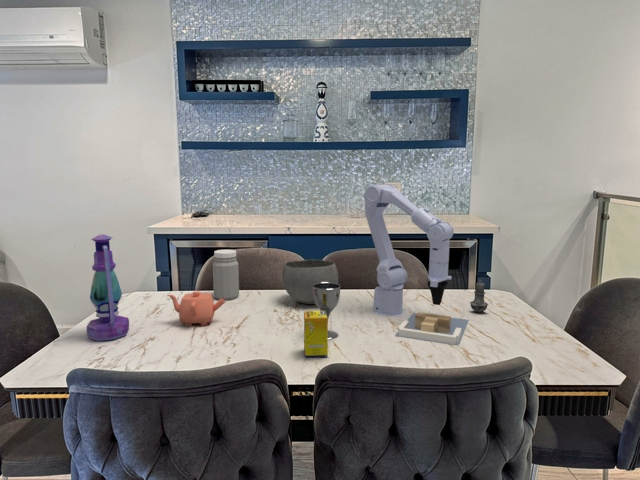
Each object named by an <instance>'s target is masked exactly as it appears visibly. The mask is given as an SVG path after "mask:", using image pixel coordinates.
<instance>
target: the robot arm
mask: <svg viewBox="0 0 640 480" xmlns="http://www.w3.org/2000/svg"><path fill="white" fill-rule="evenodd" d="M362 197H363V198H364V203H365V204H364V207H365V208H364V214H365V217H366V221H367V224H368V228H369V231H370V234H371V237H372V242H373V244H374V247H375V251H376V255H377V258H378V261H379V263H378V265H377V267H376V273H377V276H376V280H377V283H378V285H379V286H376V287H375V288H374V292H373V312H372V313H373V314H376V315H385V316H392V317H401V316H403V314H404V313H405V312H406V309H403V301H404V300H403V298H404V295H403V294H404V287H405V283H406V282H407V281H408V273H407V271H406V269H405V268H404V267H403V264H402V262H401V261H400V260H399V259H398V258H396V254H395V252H394V249H393V245H392V242H391V238H390V235H389V233H388V229H387V225H386V222H385V219H384V215H383V213H384V211H385V210H386V208H387V207H388V206H389V205H390V204H393V205H394V206H395V207H397V208H399V209H400V210H402V212H404V213H405V214H407V215H409V216H410V217H411V218H410V219H411V222H412V223H413V224H414V225H415V226H416V227H418V228H419V229H421V231H423V232H424V233H425V234H426V236H427V239H428V240H429V246H430V247H429V261H428V262H429V264H428V274H427V278H428V279H429V280H428V281H427V287H428V289H429V290H430V294H431V295H430V296H431V301H432V305H435V306H440V305H441V303H442V300H443V296H444V293H445V290H446V287H447V285H448V284H449V281H448V280H452V276H451V275H449V261H450V244H451V242H450V239H452V238H453V236H454V228H453V226H452V224H450V222H448V221H442V219H441V218H440V217H436V216H435V215H434V214H432V213H431V212H430V211H431V210H430V209H429V208H428V207H427V208H425V207H417V206H416V205H415V204H414V203H413V202H412V201H410V200H409V199H408V198H407V197H406V196H405V195H404V194H403V193H401V192H400V191H399V189H398V188H396V187H394V185H392V184H389V183H386V184H375V183H373V184H370V185H368V186H367V187H366V189H365V191H364V193H363V194H362Z"/></svg>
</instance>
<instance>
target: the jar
mask: <svg viewBox="0 0 640 480" xmlns="http://www.w3.org/2000/svg"><path fill="white" fill-rule="evenodd" d="M213 257H214V259H213V260H214V261H213V263H212V277H213V278H212V282H213V283H212V284H213V297H214V298H215V299H216V300H218V301H219V300H220V299H221V298H222V299H223V300H224V301H231V300H235V299H237V298H238V296H240V285H239V284H240V277H239V276H240V275H239V274H240V272H239V262H238V260H237V250H235V249H230V248H229V249H228V248H227V249H217V250H214V253H213Z"/></svg>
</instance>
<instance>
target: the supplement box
mask: <svg viewBox="0 0 640 480" xmlns="http://www.w3.org/2000/svg"><path fill="white" fill-rule="evenodd" d="M328 325H329V318H327V315H326V311H320V310H306V311H303V330H304V331H303V333H304V334H303V345H304V346H303V349H304V350H303V351H304V355H305V356H304V357H305V359H323V358H324V359H325V358H326V359H327V358H329V357H328V355H329V351H328V350H329V349H328V348H329V347H328V343H329V342H328V340H329V339H328V331H329V328H328V327H329V326H328Z"/></svg>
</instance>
